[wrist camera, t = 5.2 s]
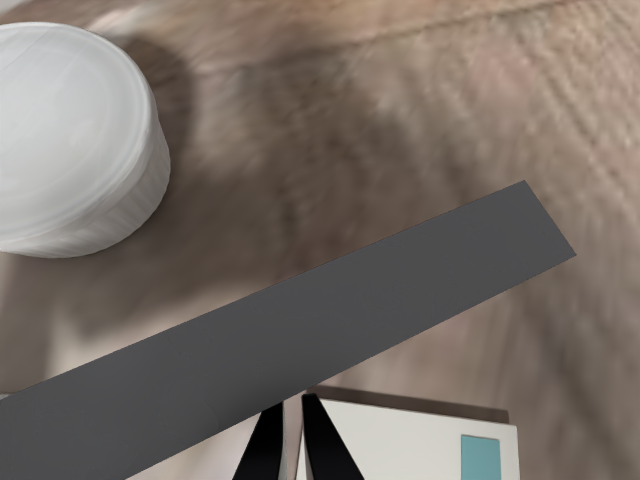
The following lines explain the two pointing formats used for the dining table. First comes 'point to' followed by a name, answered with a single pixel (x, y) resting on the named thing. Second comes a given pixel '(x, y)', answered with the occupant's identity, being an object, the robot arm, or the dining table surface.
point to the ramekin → (74, 142)
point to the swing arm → (272, 343)
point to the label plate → (421, 444)
